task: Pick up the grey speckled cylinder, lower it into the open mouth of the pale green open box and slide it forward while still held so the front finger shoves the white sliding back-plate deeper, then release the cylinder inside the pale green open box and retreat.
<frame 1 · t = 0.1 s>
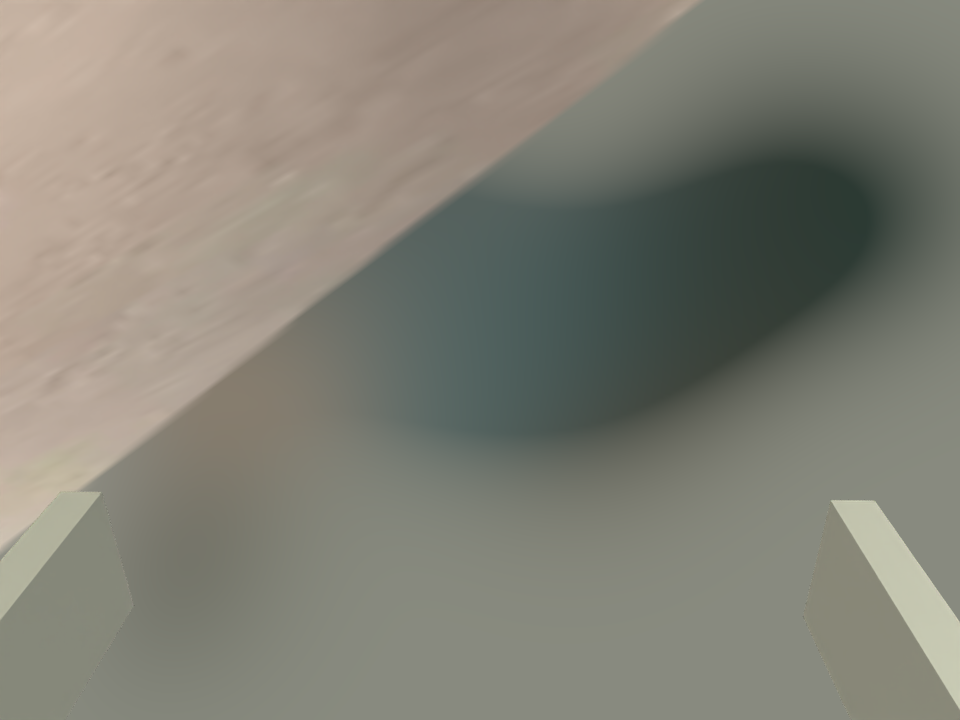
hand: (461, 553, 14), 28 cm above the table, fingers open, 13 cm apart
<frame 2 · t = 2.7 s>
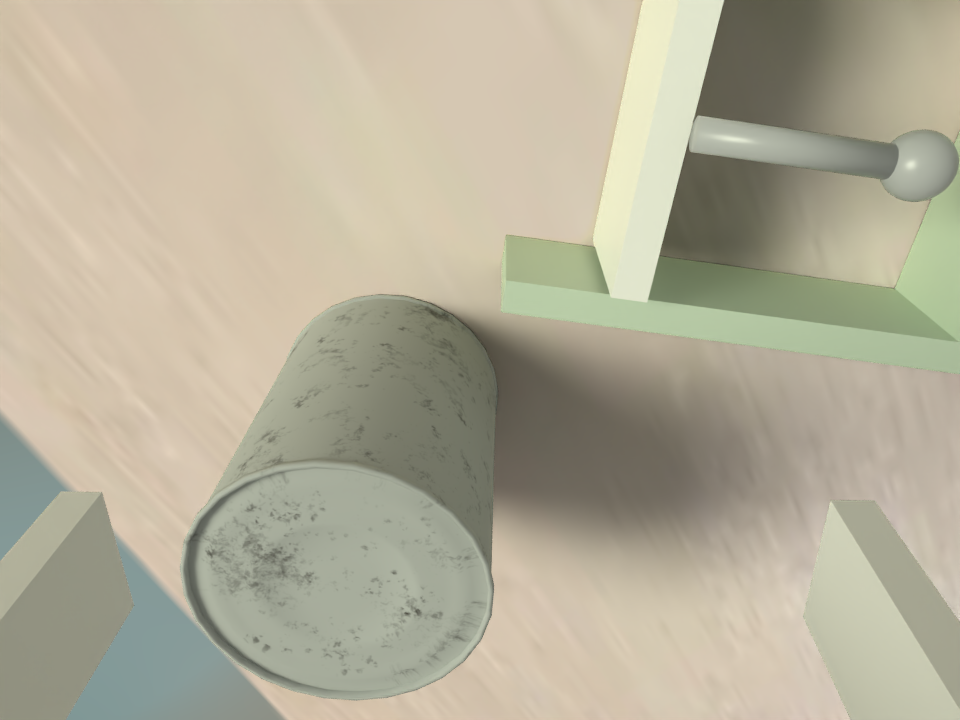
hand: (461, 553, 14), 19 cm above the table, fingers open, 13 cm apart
grey speckled cylinder: (391, 390, 34), on the table
pale green open box: (745, 109, 28), on the table
pusher: (773, 129, 24), point 4 cm above the table, slide at 0.0 cm
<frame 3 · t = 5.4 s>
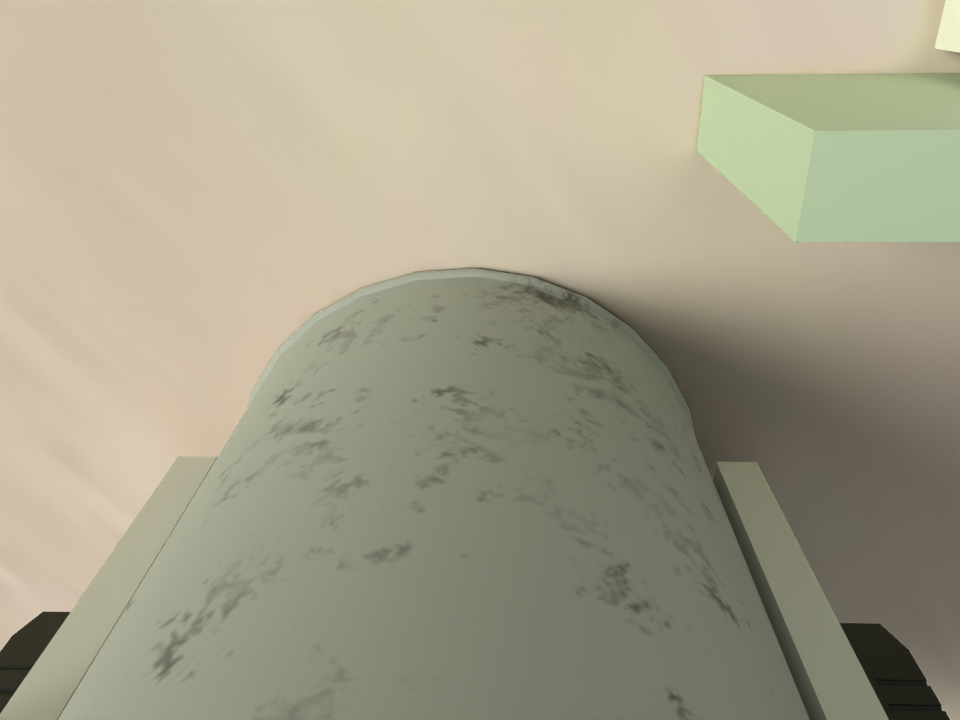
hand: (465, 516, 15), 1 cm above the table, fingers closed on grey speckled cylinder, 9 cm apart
grey speckled cylinder: (468, 476, 16), on the table, touching gripper
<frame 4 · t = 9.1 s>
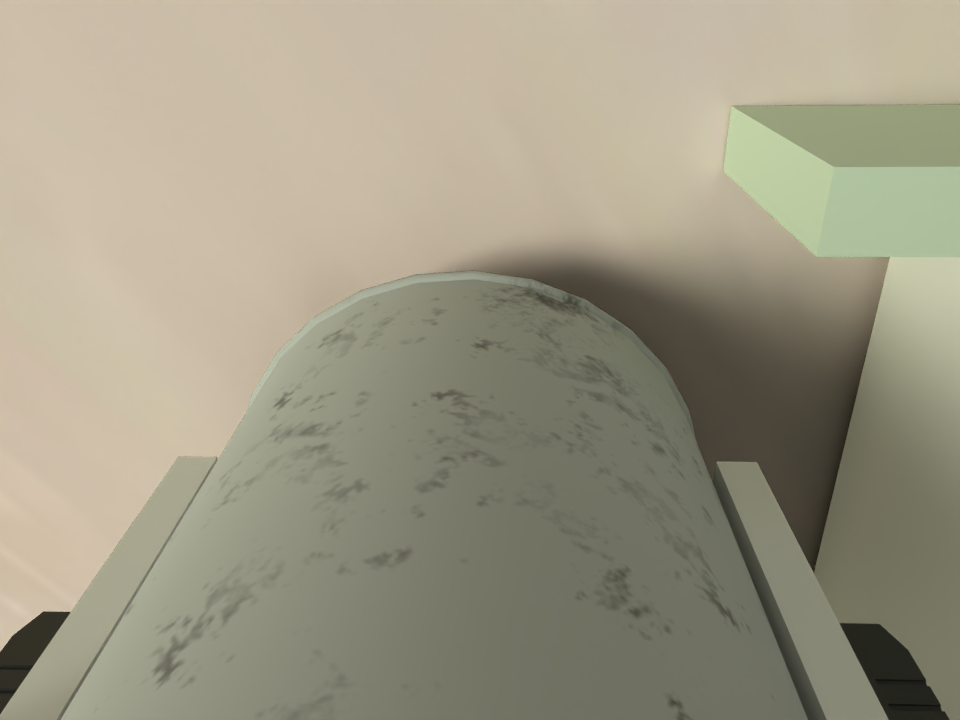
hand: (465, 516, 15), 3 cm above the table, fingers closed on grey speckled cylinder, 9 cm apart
grey speckled cylinder: (468, 478, 16), point 2 cm above the table, touching gripper
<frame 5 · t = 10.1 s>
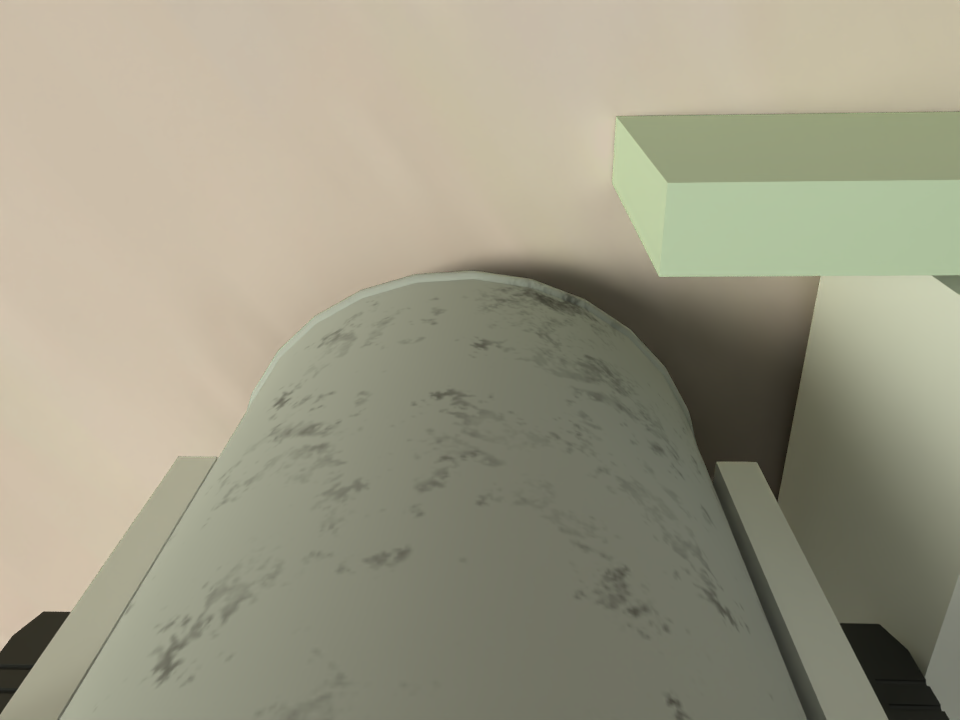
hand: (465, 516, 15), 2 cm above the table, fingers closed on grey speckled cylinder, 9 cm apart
grey speckled cylinder: (468, 477, 16), point 1 cm above the table, touching gripper
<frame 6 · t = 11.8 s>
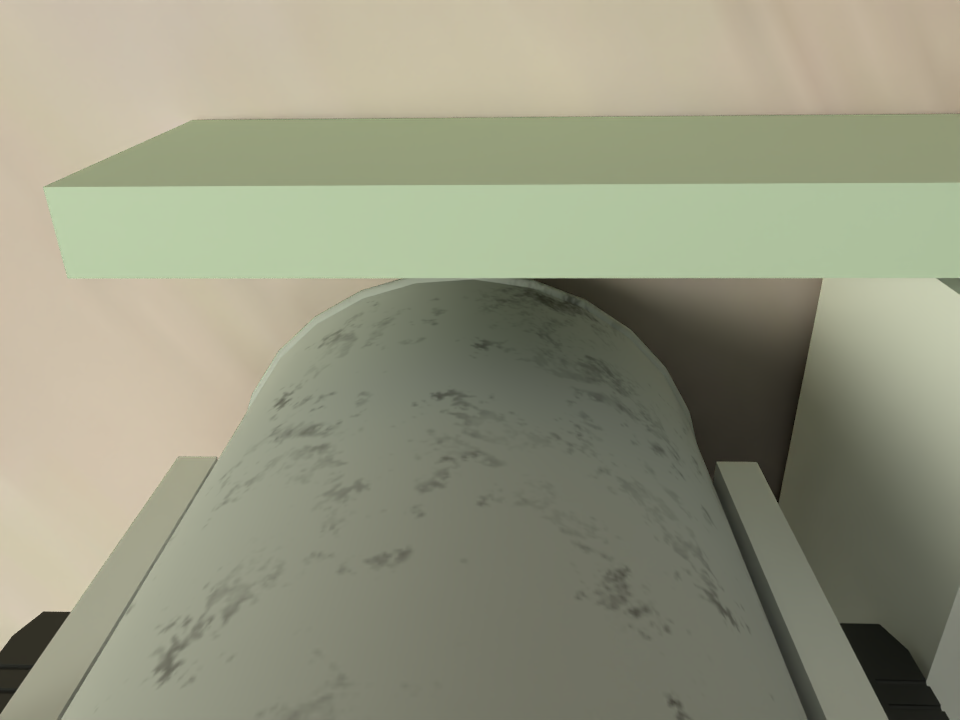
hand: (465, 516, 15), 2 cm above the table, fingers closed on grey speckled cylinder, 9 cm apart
grey speckled cylinder: (468, 478, 16), point 1 cm above the table, touching gripper
pale green open box: (609, 455, 17), on the table
when the fingers open (2 cm above the table, at t = 13.0 s): grey speckled cylinder stays where it is, on the table.
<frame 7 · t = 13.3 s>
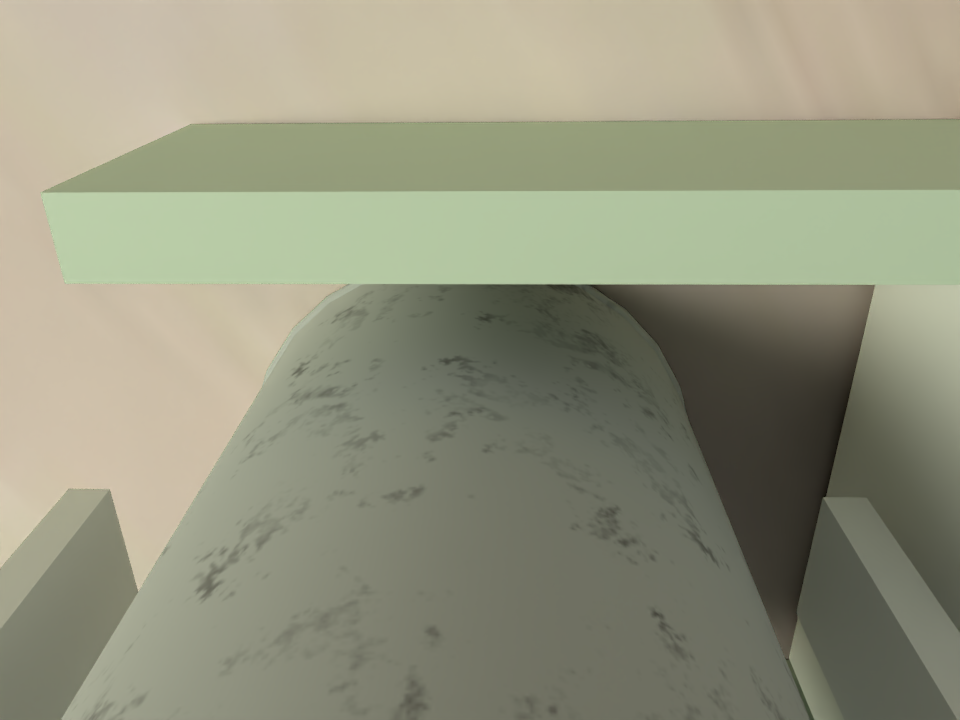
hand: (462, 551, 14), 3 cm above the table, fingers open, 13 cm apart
grey speckled cylinder: (471, 452, 17), on the table
pale green open box: (607, 459, 17), on the table
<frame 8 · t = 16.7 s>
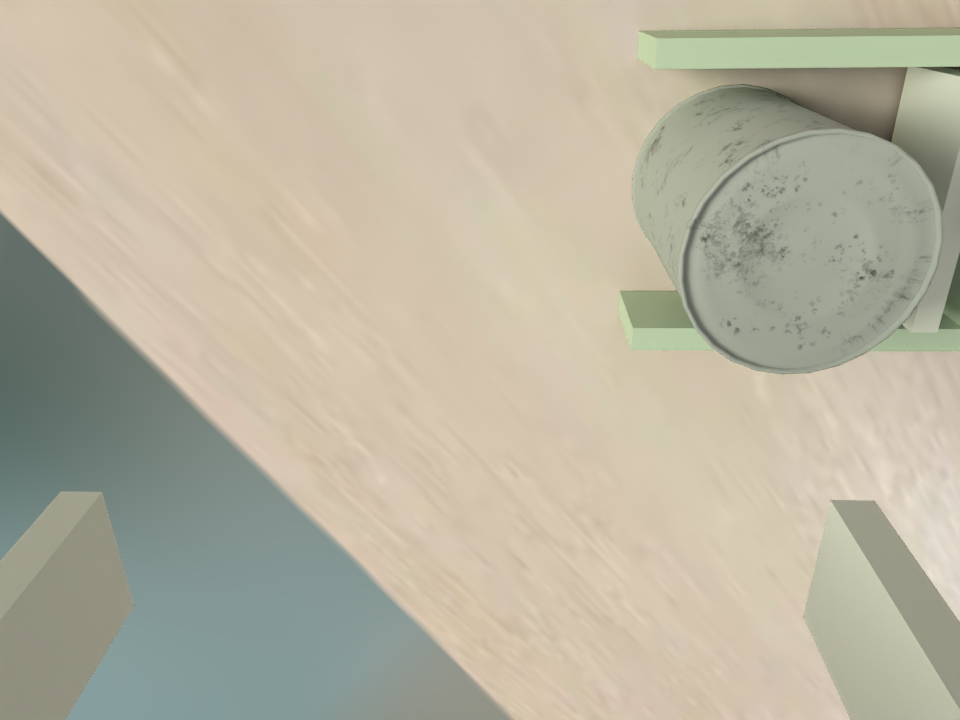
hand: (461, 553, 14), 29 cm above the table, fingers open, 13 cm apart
grey speckled cylinder: (724, 181, 40), on the table
pale green open box: (784, 181, 39), on the table
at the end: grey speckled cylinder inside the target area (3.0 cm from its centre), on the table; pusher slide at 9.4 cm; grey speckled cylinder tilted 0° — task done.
